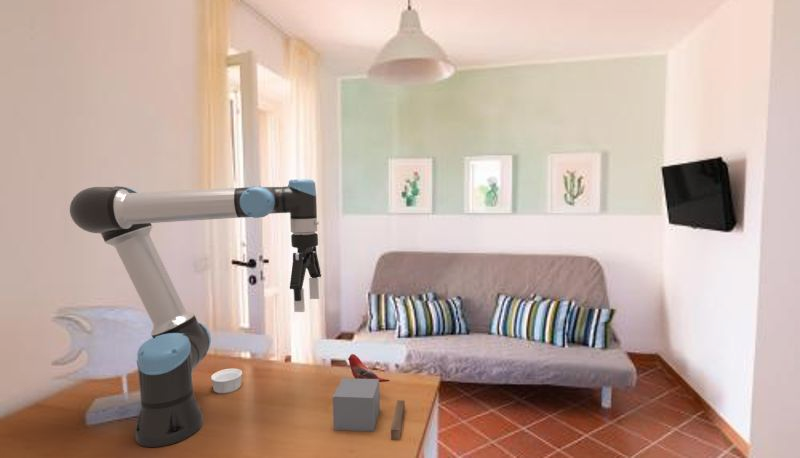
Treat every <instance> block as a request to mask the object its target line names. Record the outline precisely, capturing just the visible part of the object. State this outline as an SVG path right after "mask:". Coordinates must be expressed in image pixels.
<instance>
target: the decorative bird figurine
mask: <svg viewBox="0 0 800 458" xmlns="http://www.w3.org/2000/svg"><path fill="white" fill-rule="evenodd" d="M347 360H348V364H349V366H350V370H351V374H352V376H353V378H354V379H379V383H385V382H387V383H388V382H390V381H391V380H390V379H387V378H383V377H382V378H381V377H378V376H377V374H376V373H375V372H374V371H372V369H370V368H369V367H367V366H366V365H365V364H364V363H363V362H362V361H361V359H360V358H359V357H358V356H357V355H356V354H354V353H351V354H350V355H349V357H348V358H347Z"/></svg>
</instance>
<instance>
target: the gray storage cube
mask: <svg viewBox="0 0 800 458" xmlns="http://www.w3.org/2000/svg"><path fill="white" fill-rule="evenodd" d="M380 395H381V394H380V382H379V379H355V377H353V378H349V377H347V378H345V377H342V378H341V380H340V382H339V383H338V386H337V387H336V390H335V391H334V393H333V395H332V412H333V413H332V416H333V419H332V420H333V430H334V431H348V432H349V431H352V432H375V428H376V425H377V421H378V418H379V414H380V411H381V403H380V402H381V398H380Z"/></svg>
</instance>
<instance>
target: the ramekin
mask: <svg viewBox="0 0 800 458" xmlns="http://www.w3.org/2000/svg"><path fill="white" fill-rule="evenodd" d="M242 376H243V371H242V370H241V369H239V368H226V369H221V370H218V371H216V372H214V373H213V374H212V375H211V376H210V378H211V379H210V380H211V384H212V390H213V391H214V392H215V393H217V394H229V393H233V392H235V391H237V390H238V389H239V388H240V387H242Z"/></svg>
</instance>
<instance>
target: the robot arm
mask: <svg viewBox="0 0 800 458" xmlns="http://www.w3.org/2000/svg"><path fill="white" fill-rule="evenodd" d="M317 205H318V204H317V190H316V182H315V181H314V180H313V179H310V178H309V179H307V178H305V179H304V178H303V179H290V180H289V181H288V185H287V186H260V185H259V186H250V187H249V186H248V187H231V188H229V187H228V188H209V189H206V188H205V189H188V190H187V189H186V190H169V191H147V192H145V191H144V192H139V191H137V190H136V189H134V188H130V187H126V186H117V185H116V186H93V187H88V188H85V189H83V190H80V191H79V192H78V193H77V194H76V195H75V196H74V197H73V198H72V200H71V201H70V204H69V214H70V217H71V219H72V220H71V221H72V222H74V224H76V226H77V227H79V228H80V229H82V230H83V231H86V232H87V233H92V234H100V235H101V237H102V239H103V241H104V242H105V244H107V245H110V246H113V247H114V248H115V250H116V253H117V254H118V256H119V258H120V260H121V262H122V264H123V266H124V268H125V270H126V273H127V274H128V275H129V279H130V280H131V282H132V284H133V287H134V288H135V291H136V292H137V295H138V296H139V298H140V300H141V302H142V304H143V306H144V308H145V310H146V313H147V314H148V316H149V318H150V320H151V323H152V325H153V328H152V330H151V333H150V336H151V338H150V339H148V340H146V341H144V342H143V343H142V344H141V345H140V347H138V351H137V353H136V354H137V356H136V357H137V358H136V359H137V360H136V366H137V373H138V383H139V393H140V394H139V396H140V403H141V405H140V406H141V407H140V410H139V415H138V418H137V422H136V426H135V429H134V430H135V431H134V435H135V442H136V443H137V444H138V445H141V446H143V447H146V448H157V447H158V448H159V447H165V446H169V445H172V444H175V443H178V442H179V443H180V442H182V441H185V440H186V439H188V438H189V437H191V436H192V435H194V434H195V433H197V432H198V431H199V430H200V429H201V428H202V426H203V423H204V420H203V412H202V410H201V408H200V405H199V404H198V401H197V399H196V397H195V395H194V394H195V393H194V385H193V384H194V381H193V371H194V370H195V369H196V367H197V366H198V365H199V363H200V362H201V361H202V360H203V359H204V358H205V356H206V355H207V354H208V351H209V350H210V346H211V342H212V341H211V340H212V338H211V333H210V331H209V329H208V327H206V326H205V324H203V323H202V322H199V321H198V319H197V317H196V315H195V313H192V312H190V311H187V310H186V308H185V306H184V304H183V302H182V299H181V298H180V296H179V293H178V292H177V290H176V287H175V285H174V283H173V282H172V281H173V280H172V279H171V277H170V275H169V273H168V271H167V268H166V267H165V265H164V263H163V260H162V258H161V256H160V254H159V251H158V250H157V248H156V246H155V243H154V242H153V239H152V238H151V236H150V233H151V231H152V229H153V225H152V224H153V223H154V224H157V223H172V222H174V223H175V222H188V221H189V222H190V221H191V222H192V221H193V222H194V221H207V220H209V221H210V220H220V219H239V218H241V219H243V218H255V219H258V218H264V217H266V216H268V215H270V214H272V215H273V214H289V215H290V216H289V217H290V219H289V220H290V233H292V234H291V235H290V239H291V240H290V241H291V247H292V248H294V249H297V252H293V253H292V264H291V265H292V266H291V273H290V281H289V289H290V290H292V291H293V292H292V293H293V309H294V311H293V312H294V313H305V312H306V309H305V308H306V307H305V289H304V287H303V286H304V281H305V277H306V272H308V274H309V278H308V281H309V299H310V300H319V299H320V286H319V281H320V280H319V278H322V273H321V267H320V263H319V258H318V253H317V252H318V251H317V246H318V245H319V234H318V233H317V232H318V225H320V222H319V221H318V216H317V215H318V213H317V212H318V208H317V207H318V206H317Z"/></svg>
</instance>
